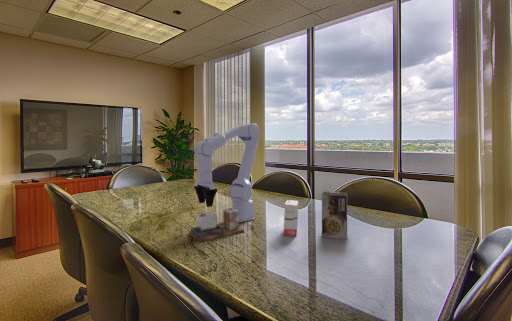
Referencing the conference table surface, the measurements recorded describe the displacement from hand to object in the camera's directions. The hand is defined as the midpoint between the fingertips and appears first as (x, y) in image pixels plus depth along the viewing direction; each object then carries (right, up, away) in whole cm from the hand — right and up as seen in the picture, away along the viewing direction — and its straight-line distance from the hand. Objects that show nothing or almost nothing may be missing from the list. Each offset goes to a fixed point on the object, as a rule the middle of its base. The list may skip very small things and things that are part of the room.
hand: (205, 204), depth 109 cm
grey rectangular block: (+1, -10, -5) cm, 11 cm away
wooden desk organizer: (+5, -11, -3) cm, 12 cm away
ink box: (+34, -11, -3) cm, 36 cm away
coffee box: (+50, -11, -7) cm, 52 cm away
